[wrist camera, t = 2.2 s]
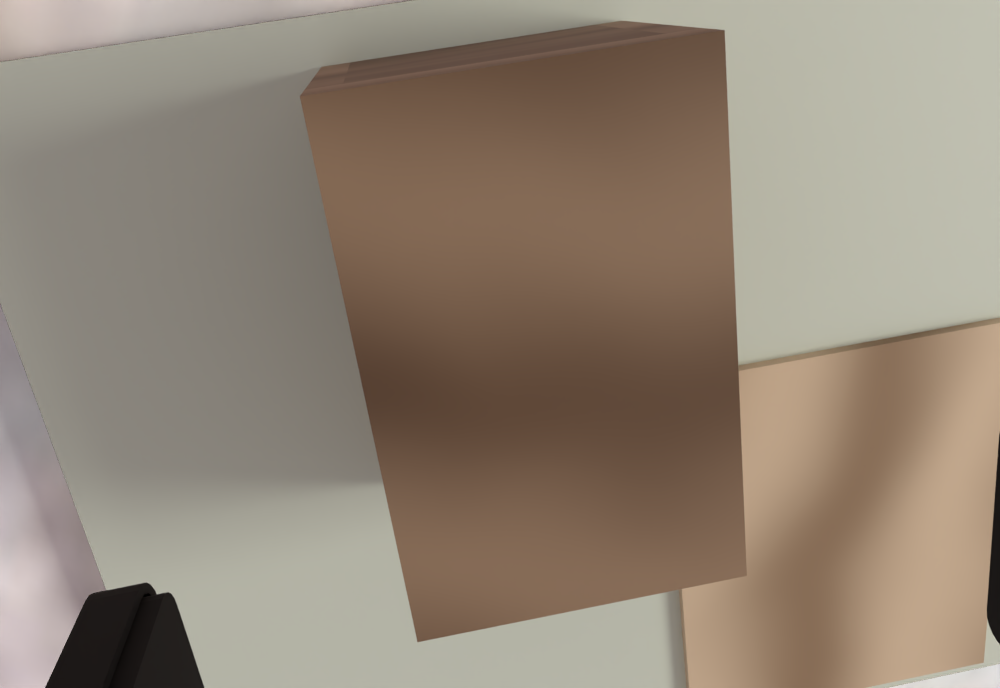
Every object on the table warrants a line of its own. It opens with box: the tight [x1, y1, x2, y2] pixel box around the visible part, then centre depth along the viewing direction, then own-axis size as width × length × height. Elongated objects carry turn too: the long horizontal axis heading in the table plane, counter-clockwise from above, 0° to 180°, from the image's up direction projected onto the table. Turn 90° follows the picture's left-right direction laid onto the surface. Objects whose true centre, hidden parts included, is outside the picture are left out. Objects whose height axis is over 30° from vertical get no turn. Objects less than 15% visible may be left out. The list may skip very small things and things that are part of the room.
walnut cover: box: [300, 21, 747, 642], centre depth 18 cm, size 10×6×6 cm, turn 8°
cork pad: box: [679, 318, 1000, 688], centre depth 24 cm, size 9×11×1 cm
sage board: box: [0, 0, 1000, 688], centre depth 23 cm, size 26×21×1 cm
